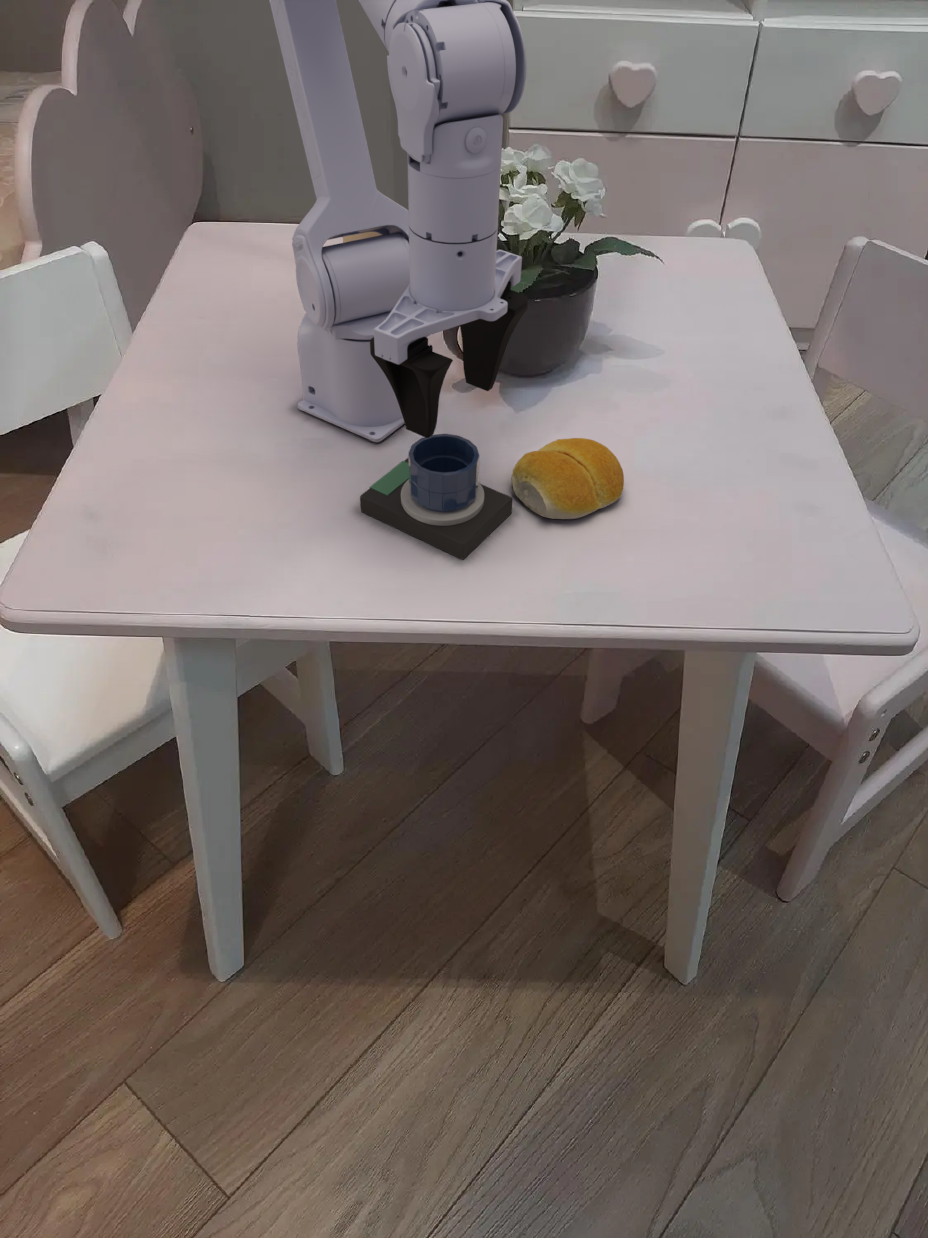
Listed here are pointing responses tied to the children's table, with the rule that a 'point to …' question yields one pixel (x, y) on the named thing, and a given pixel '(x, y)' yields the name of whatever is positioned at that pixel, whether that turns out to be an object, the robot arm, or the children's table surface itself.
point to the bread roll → (568, 478)
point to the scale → (435, 513)
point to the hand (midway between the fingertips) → (450, 407)
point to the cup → (443, 472)
